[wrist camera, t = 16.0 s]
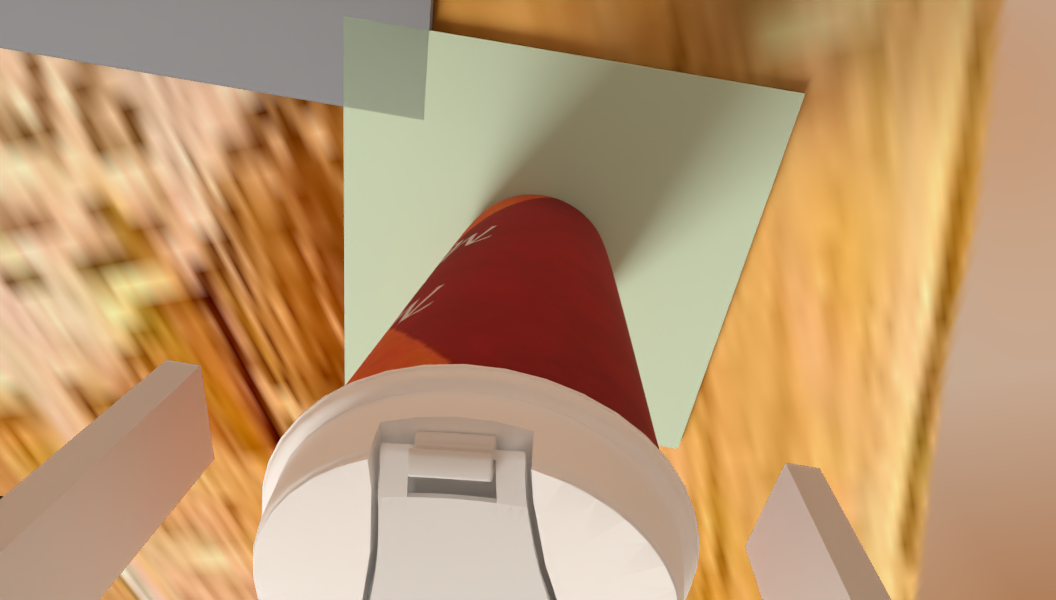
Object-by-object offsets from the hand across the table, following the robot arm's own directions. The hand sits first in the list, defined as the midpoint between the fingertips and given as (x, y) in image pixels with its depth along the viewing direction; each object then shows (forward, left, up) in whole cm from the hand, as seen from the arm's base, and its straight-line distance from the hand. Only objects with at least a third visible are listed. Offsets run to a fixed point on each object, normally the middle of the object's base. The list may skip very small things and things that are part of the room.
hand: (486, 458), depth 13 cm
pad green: (0, 0, -12) cm, 12 cm away
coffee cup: (0, 0, -11) cm, 11 cm away
